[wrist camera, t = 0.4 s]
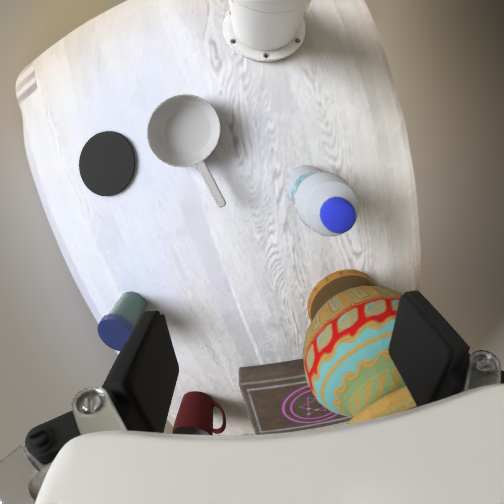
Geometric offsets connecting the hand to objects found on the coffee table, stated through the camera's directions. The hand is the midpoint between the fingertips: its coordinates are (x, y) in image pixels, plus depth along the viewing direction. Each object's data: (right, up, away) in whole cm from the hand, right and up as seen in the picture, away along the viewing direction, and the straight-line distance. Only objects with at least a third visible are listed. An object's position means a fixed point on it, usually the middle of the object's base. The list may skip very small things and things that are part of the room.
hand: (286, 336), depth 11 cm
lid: (-24, -11, +33) cm, 42 cm away
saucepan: (-9, +19, +31) cm, 37 cm away
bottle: (+7, +14, +33) cm, 37 cm away
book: (+13, -29, +51) cm, 59 cm away
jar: (-24, -7, +41) cm, 48 cm away
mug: (-13, -33, +52) cm, 63 cm away
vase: (+16, -6, +41) cm, 45 cm away
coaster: (-25, +18, +31) cm, 44 cm away
